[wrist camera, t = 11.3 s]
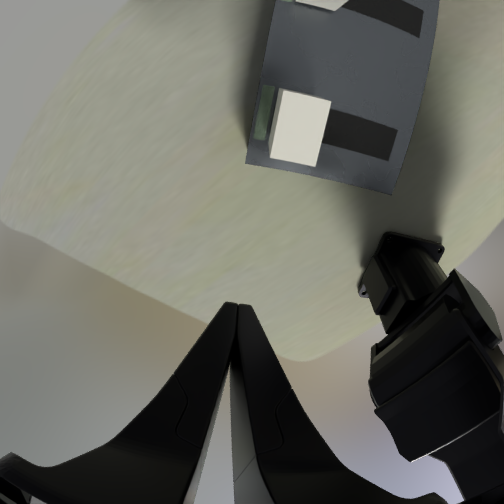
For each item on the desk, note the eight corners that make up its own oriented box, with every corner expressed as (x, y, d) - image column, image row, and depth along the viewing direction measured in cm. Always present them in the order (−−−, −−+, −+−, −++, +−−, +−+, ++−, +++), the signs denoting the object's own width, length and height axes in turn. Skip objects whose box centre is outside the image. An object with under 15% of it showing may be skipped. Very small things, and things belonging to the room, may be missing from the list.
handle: (317, 96, 13) (331, 101, 10) (305, 149, 15) (315, 166, 12) (279, 87, 13) (283, 90, 10) (268, 142, 14) (269, 157, 12)
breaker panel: (417, 0, 11) (440, -7, 8) (375, 178, 19) (391, 195, 16) (285, -44, 10) (289, -62, 8) (247, 150, 18) (245, 163, 16)
